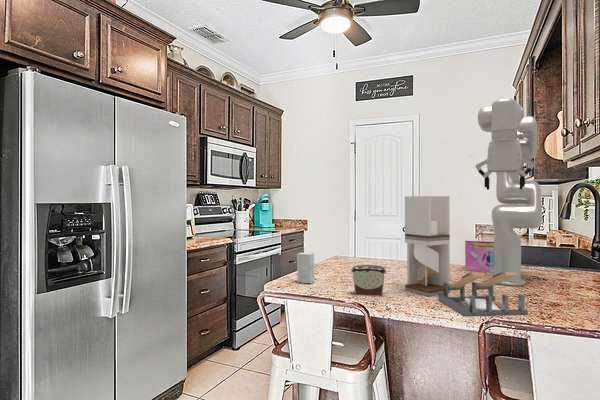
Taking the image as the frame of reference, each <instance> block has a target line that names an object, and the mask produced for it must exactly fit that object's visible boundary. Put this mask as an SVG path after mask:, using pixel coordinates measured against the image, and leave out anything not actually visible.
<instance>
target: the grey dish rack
mask: <svg viewBox="0 0 600 400" xmlns="http://www.w3.org/2000/svg"><path fill="white" fill-rule="evenodd" d="M477 283H478V282H475V281H472V282H471V295H469V296H468V295H467V296H466V295H465V294H466V292H465V291H466V290H465V289H466V288H465V287H466V285H464V286H462V290H459V296H449V293H448V284H447V283H443V293H438V295H437V301H439V302H441V303H442V304H444V305H446V306H447V307H449V308H450V309H452V310H453V311H456V312H458V313H459V314H460V315H463V316H464V317H480V316H481V317H482V316H484V317H485V316H514V315H515V316H517V315H518V316H519V315H529V310H527V309H525V299H526V297H525V295H523V294H518V295H517V297H518V298H517V300H518V301H517V302H518V307H517V309H509V295H506V294H502V297H501V300H502V301H501V307H502V309H500V310H492V302H493V301H496V296H494V285H492V286H491V288H490V289H487V290H488V295H478V290H477ZM465 298H470V308H469V307H468V305H465V304H463V303H461V301H463V302H465V301H464V299H465ZM475 299H486V311H475ZM459 301H460V302H459Z"/></svg>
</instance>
